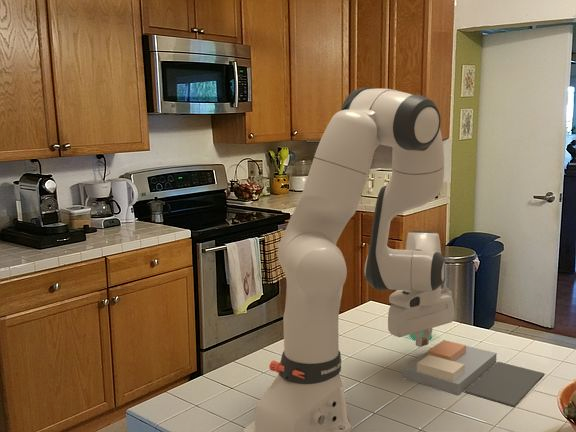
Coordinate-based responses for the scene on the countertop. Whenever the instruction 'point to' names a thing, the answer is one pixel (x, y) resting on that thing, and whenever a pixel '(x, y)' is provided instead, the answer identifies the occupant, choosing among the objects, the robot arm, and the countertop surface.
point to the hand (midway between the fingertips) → (422, 345)
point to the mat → (505, 383)
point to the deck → (474, 368)
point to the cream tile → (441, 368)
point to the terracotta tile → (447, 350)
